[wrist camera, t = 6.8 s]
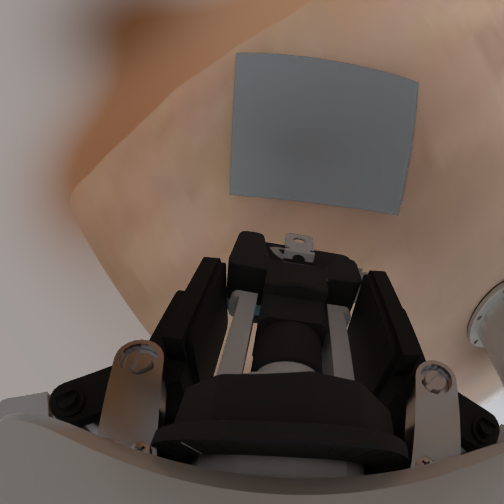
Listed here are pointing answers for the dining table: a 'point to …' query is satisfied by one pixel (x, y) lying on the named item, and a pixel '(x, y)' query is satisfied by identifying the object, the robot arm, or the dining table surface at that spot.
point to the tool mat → (321, 132)
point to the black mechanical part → (286, 375)
